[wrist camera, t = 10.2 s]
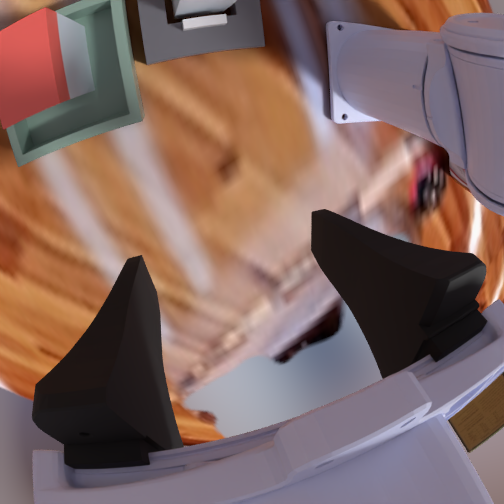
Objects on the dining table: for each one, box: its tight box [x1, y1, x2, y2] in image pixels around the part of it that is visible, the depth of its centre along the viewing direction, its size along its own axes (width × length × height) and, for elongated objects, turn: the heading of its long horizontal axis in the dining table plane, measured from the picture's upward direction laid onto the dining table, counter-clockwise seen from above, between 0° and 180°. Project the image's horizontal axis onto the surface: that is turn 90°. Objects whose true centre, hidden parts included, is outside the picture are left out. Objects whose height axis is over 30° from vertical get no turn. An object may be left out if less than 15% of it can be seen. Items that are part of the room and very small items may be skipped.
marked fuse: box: [0, 7, 95, 130], centre depth 10 cm, size 3×4×7 cm, turn 6°
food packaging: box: [448, 372, 504, 453], centre depth 36 cm, size 13×9×25 cm
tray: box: [6, 0, 145, 167], centre depth 12 cm, size 8×8×2 cm
